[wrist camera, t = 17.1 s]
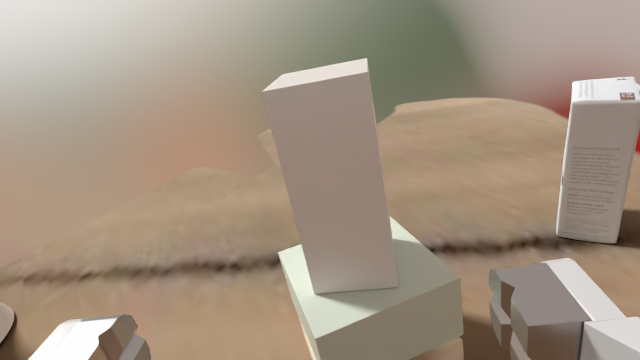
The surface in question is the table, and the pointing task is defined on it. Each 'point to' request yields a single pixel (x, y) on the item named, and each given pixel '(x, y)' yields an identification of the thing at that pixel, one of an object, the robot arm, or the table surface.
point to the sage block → (380, 307)
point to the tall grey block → (334, 175)
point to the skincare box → (598, 158)
